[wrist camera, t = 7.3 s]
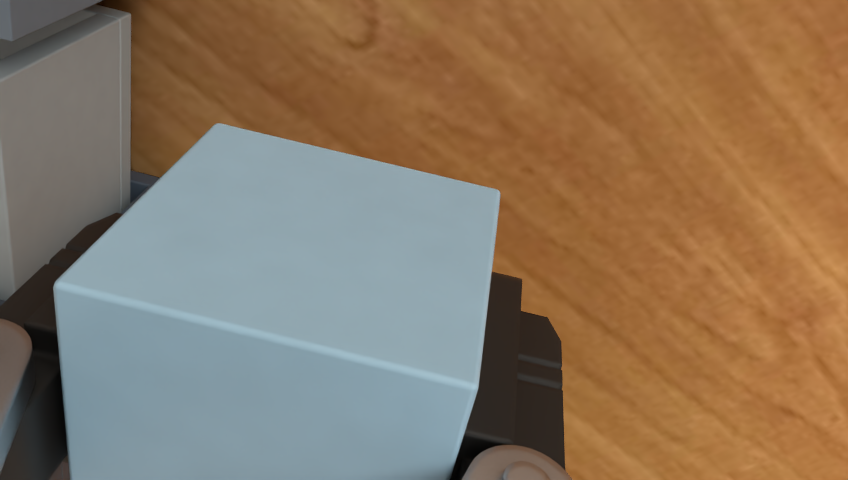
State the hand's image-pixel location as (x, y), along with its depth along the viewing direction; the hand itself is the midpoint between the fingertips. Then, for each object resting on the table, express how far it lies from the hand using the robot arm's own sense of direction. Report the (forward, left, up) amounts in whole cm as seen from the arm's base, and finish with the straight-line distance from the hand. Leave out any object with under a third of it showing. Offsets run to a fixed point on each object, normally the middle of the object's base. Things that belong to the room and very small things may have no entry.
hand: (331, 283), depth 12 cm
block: (0, 0, 0) cm, 0 cm away
